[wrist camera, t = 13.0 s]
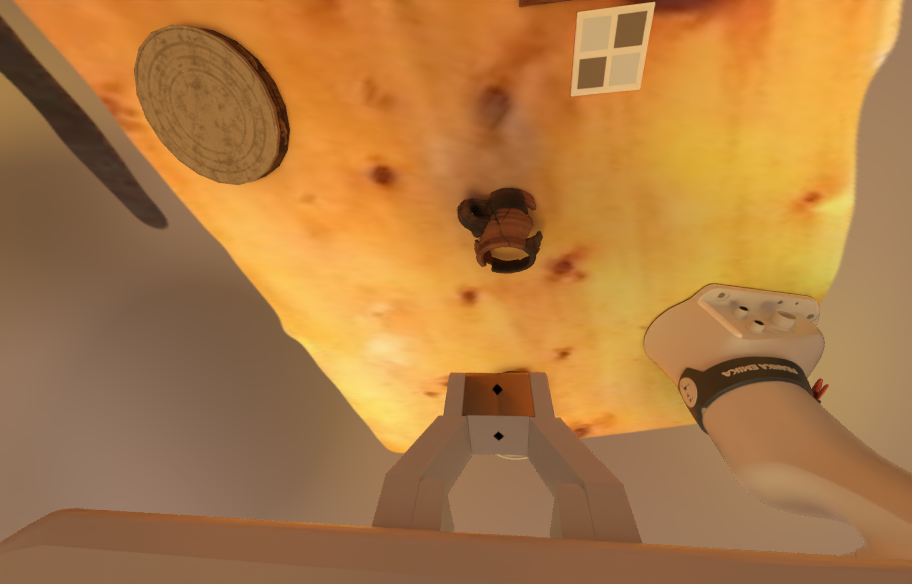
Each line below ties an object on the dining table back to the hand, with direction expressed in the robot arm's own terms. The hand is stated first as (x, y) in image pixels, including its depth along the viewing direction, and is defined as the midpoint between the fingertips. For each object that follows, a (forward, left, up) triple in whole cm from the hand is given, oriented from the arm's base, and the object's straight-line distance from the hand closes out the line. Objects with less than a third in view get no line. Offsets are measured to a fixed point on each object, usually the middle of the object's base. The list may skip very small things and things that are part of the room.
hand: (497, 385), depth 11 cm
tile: (-12, -9, -35) cm, 38 cm away
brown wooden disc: (+32, -8, -36) cm, 49 cm away
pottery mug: (-1, +8, -35) cm, 36 cm away
